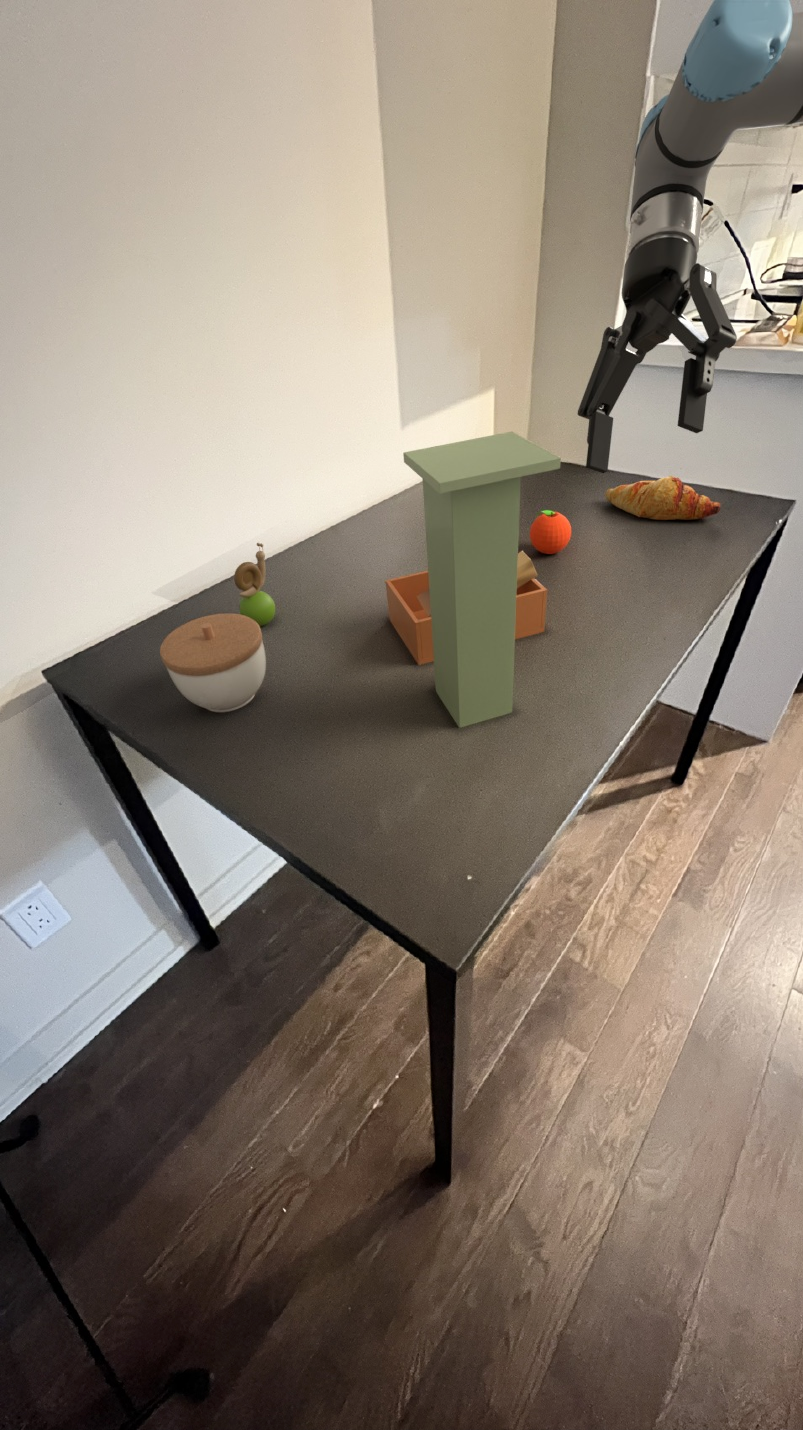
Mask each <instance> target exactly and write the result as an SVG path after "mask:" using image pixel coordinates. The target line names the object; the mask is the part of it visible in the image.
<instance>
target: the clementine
mask: <svg viewBox="0 0 803 1430" xmlns="http://www.w3.org/2000/svg"><path fill="white" fill-rule="evenodd" d="M541 513H542V514H541ZM539 514H540V515H539ZM571 537H572V526H571V523H570V521H569V520H568V519H567V517H566V516H565V515H563V514H562V513H560V512H558V511H553V510H549V509H545V510H541V511H539V512H537V513H536V515H535V519H534V521H533V522H532V524H531V526H530V530H529V540H530V542H531V544H532V546H533V548H535V550H537V551H538V552H540V553H542V554H546V555H553V554H556V553H559V552H561V551H563V550H564V549H565V548H566V546H567V545H568V544H569V542H570V540H571Z"/></svg>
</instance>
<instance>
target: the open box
mask: <svg viewBox="0 0 803 1430" xmlns="http://www.w3.org/2000/svg"><path fill="white" fill-rule="evenodd" d="M428 589H429V575H428V570H423V571H419V572H415V573H412V574H406V575H402V576H398V577H394V578H390V579H385V591H386V599H387V600H386V601H387V608H388V617H389V618H388V619H389V622H390V624H391V625H392V626H393V628H394V629H395V631H396V632H397V634H398V635H399V637H400V638H401V640H402V642H403V643H404V645H405V647H406V648H407V649H408V651H409V652H410V654H411V655H412V657H413V659H414V660H415V662H416V663H417V665H418V666H421V665H424V664H427V663H428V664H429V663H432V662H434V655H433V639H432V623H431V617H428V616H427V614H426V613H425V611H424V609H423V607H422V606H421V604H420V602H419V600H418V599H417V596H418V595H420V594H421V593H423V592H424V591H426V590H428ZM547 598H548V589H547V588H546V587H544V585H542V584H541V583H540V582H539V581H538V580H537V579H535V578H533V579H532V580H530V581H528V582H527V583H525V584H523V585H522V586H520V587H519V588H517V591H516V618H515V640H518V639H521V638H525V637H530V636H533V635H534V636H535V635H537V634H540V633H544V632H545V625H546V612H547V611H546V610H547V609H546V608H547V600H548V599H547Z"/></svg>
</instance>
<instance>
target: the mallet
mask: <svg viewBox="0 0 803 1430" xmlns="http://www.w3.org/2000/svg"><path fill="white" fill-rule="evenodd" d="M538 576H539V575H538V572H537V571H536V568H535V566H534V563H533V561H532V559H531V558H530V557H529V556H528V555H527V554H526V553H525V552H524V550H521V551H519V552H518V564H517V588H519V587H520V586H522V585H523V584H525V583H527V582H528V581H530V580H532V579H533V578H534V579H535V578H536V577H538ZM417 599H418V600H419V602H420V604H421V606H422V607H423V609H424V611H425V613H426V614H427V616H428V617H431V607H430V591H429V589H428V590H426V591H424V592H423V593H421V594H420V595H418V596H417Z"/></svg>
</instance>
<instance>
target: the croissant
mask: <svg viewBox="0 0 803 1430" xmlns="http://www.w3.org/2000/svg"><path fill="white" fill-rule="evenodd" d="M604 497H605V499H606V500H607V501H608V502H610V504H612V505H613V506H615V507H616V508H618V509H620V510H622V511H625V512H626V513H629V514H631V515H633V516H636V517H638V518H645V519H650V520H655V521H656V520H657V521H668V520H670V521H671V520H673V521H674V520H682V521H683V520H684V521H690V520H699V519H700V520H702V519H705V518H707V517H710V516H714V515H717V514H718V513H719V512H720V510H721V506H722V504H721V503H720V502H718V501H711V499H710V497H708V496H706V495H704V494H701V495H700V494H699V493H697V492H696V491H695V489H694V488H692V486H689V485H687V484H684V483H683V481H682V480H681V478H680V477H676V476H673V475H669V476H667V477H661V478H658V479H657V480H640V481H637V482H635V483H630V484H621V485H619V486H616V487H615V488H608V489H607V490H606V492H605V495H604Z"/></svg>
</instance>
